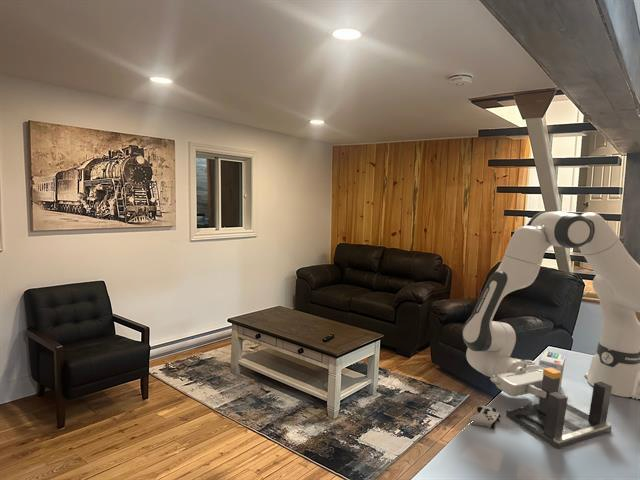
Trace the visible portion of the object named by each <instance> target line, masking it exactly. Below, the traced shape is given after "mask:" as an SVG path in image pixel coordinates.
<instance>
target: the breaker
mask: <svg viewBox="0 0 640 480" xmlns="http://www.w3.org/2000/svg"><path fill="white" fill-rule="evenodd" d="M560 378H561V372H560V371H558V370H556V369H554V368H551V367H550V368H545V369H543V380H542V387H541V389H544V390H546V391H548V392H549V394H550V393H554V392H558V388H559V382H560ZM549 394H548V397H546V398H542V397H541V396H539V403H538V404H539V408H538V410H539V411H541V412H543V413H545V414H546V412H547V405H548V398H549Z"/></svg>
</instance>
